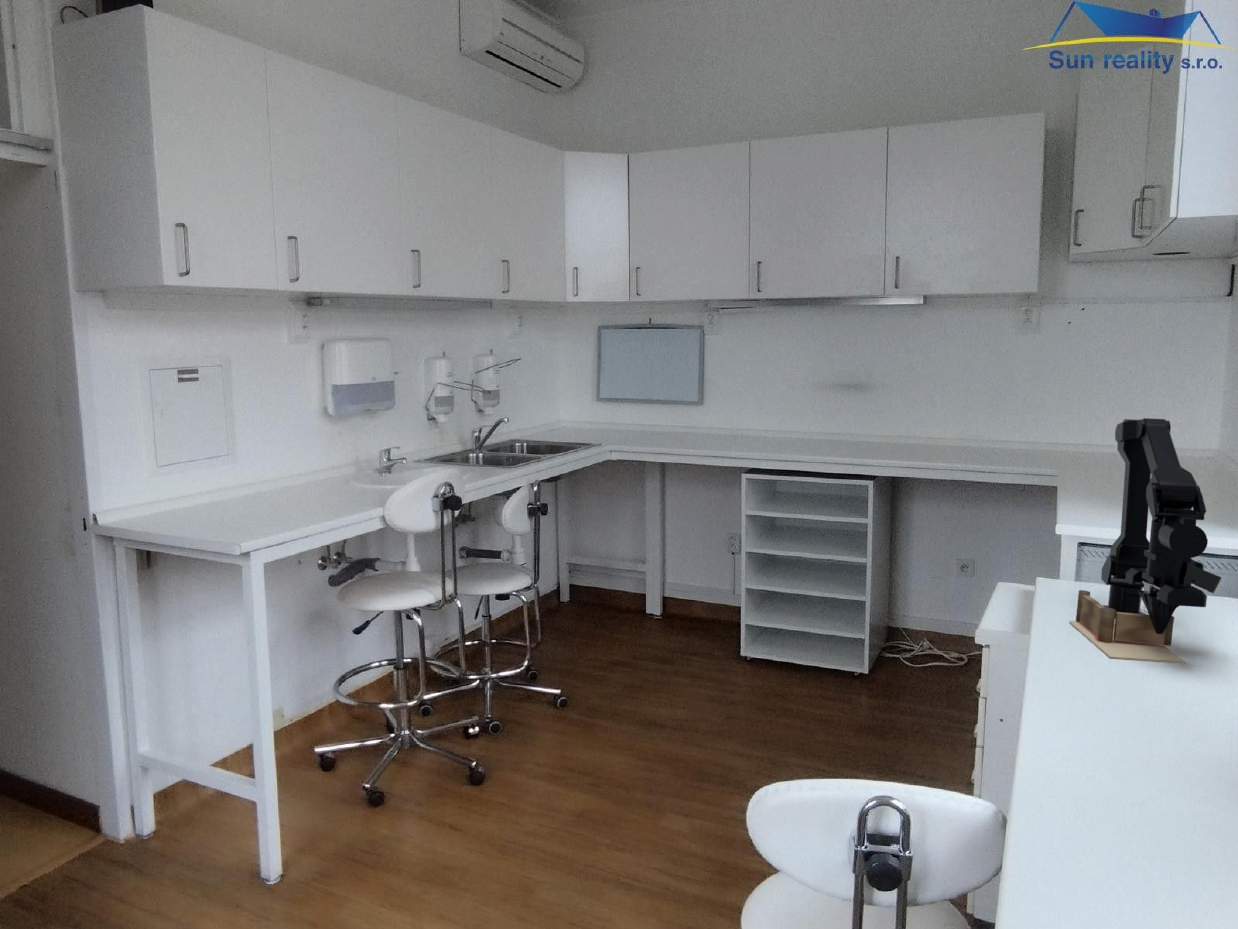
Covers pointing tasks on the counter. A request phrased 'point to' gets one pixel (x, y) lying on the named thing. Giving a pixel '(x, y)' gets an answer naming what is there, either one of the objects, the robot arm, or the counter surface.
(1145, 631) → the fence gate
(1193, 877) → the counter surface
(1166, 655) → the card
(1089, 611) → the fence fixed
